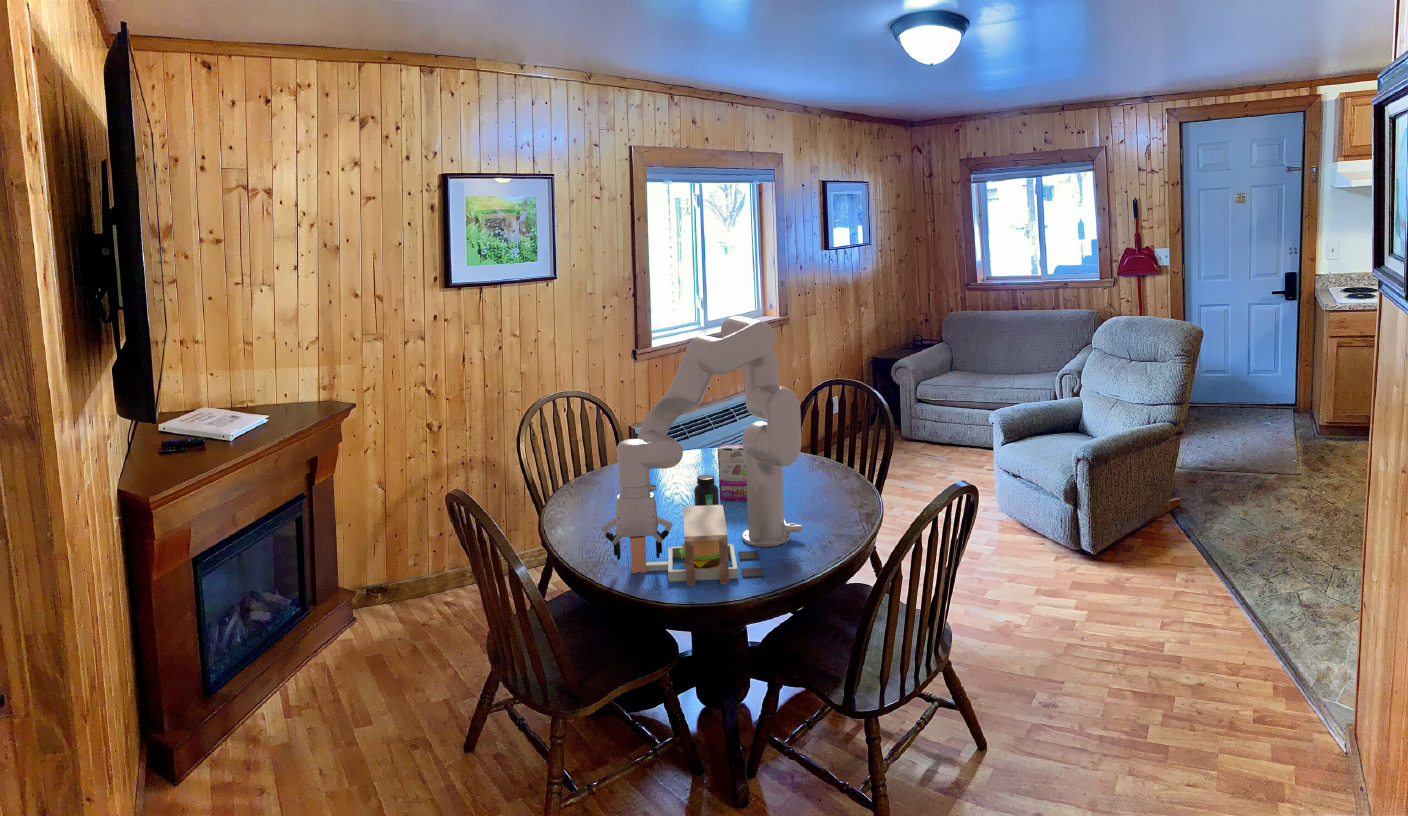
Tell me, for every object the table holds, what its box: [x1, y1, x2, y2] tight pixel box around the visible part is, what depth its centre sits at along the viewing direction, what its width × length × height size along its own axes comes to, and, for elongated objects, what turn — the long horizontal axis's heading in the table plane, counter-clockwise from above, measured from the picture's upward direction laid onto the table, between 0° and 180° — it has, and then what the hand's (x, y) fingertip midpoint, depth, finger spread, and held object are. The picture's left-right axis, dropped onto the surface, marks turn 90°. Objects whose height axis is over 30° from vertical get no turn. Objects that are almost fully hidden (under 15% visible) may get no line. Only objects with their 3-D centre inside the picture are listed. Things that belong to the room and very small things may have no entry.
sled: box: [629, 536, 739, 583], centre depth 231 cm, size 26×16×9 cm, turn 92°
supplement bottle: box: [693, 474, 720, 506], centre depth 265 cm, size 7×7×12 cm
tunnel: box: [683, 504, 730, 586], centre depth 230 cm, size 10×22×12 cm, turn 2°
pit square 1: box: [738, 550, 761, 561], centre depth 237 cm, size 5×5×1 cm
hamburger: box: [679, 540, 720, 569], centre depth 231 cm, size 12×12×9 cm
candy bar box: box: [717, 444, 747, 502], centre depth 280 cm, size 11×5×16 cm, turn 80°
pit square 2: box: [741, 566, 765, 579], centre depth 227 cm, size 5×5×1 cm
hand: (638, 557), depth 230 cm, fingers open, 9 cm apart
